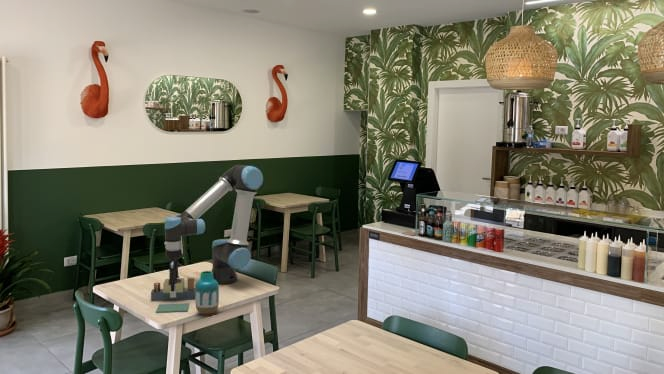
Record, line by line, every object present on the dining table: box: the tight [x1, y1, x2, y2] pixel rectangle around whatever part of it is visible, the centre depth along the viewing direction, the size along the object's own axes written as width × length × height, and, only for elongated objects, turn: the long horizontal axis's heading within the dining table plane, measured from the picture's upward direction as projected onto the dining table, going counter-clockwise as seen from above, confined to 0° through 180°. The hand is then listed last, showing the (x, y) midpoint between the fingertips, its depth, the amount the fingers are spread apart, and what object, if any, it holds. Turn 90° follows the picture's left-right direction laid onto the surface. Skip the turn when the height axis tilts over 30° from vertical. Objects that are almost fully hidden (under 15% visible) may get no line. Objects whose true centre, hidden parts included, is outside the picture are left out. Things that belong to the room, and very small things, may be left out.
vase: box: [194, 270, 220, 315], centre depth 241 cm, size 11×11×19 cm
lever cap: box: [162, 277, 185, 293], centre depth 260 cm, size 9×8×5 cm
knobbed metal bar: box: [150, 277, 195, 302], centre depth 260 cm, size 21×5×10 cm, turn 100°
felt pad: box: [155, 302, 190, 314], centre depth 247 cm, size 14×10×1 cm
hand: (174, 294), depth 260 cm, fingers closed on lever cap, 8 cm apart
